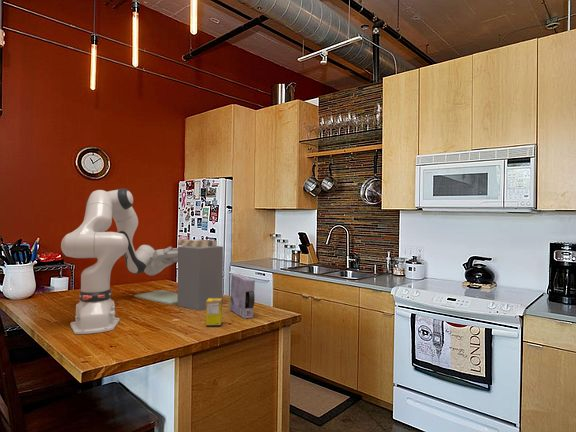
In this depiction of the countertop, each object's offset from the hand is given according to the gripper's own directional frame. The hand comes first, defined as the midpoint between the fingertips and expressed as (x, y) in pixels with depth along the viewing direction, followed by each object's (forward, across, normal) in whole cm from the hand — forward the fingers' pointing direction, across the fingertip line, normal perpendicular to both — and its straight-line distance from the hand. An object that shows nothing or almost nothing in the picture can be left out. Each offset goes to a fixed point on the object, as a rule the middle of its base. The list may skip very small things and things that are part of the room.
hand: (178, 247), depth 210 cm
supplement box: (+27, -20, +50) cm, 60 cm away
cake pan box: (+25, 0, +48) cm, 55 cm away
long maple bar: (+10, 0, +5) cm, 11 cm away
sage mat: (-24, 0, +20) cm, 31 cm away
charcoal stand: (0, 0, +34) cm, 34 cm away
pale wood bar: (+15, +5, +7) cm, 17 cm away
